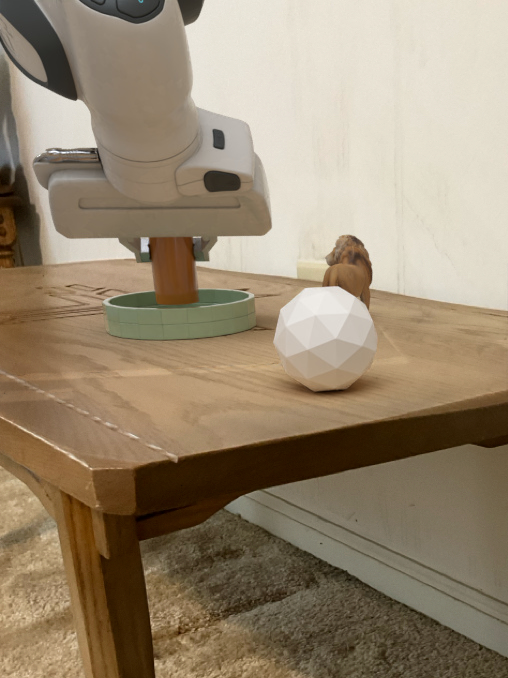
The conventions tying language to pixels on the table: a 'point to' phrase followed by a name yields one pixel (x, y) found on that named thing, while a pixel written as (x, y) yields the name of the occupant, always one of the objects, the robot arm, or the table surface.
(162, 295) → the spice jar
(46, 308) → the table surface
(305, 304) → the geometric ball
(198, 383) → the table surface
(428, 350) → the table surface
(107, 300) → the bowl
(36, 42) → the robot arm
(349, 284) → the lion figurine
